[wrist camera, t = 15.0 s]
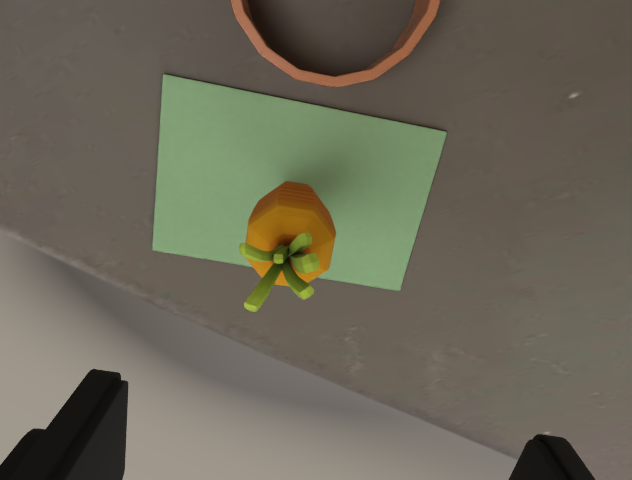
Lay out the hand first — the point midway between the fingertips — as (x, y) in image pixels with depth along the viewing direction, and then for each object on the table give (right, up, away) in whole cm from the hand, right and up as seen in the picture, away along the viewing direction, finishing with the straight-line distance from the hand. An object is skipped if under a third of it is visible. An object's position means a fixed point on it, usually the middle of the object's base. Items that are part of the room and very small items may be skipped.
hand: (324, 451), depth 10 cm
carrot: (-2, +8, +22) cm, 23 cm away
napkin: (-2, +8, +22) cm, 24 cm away
